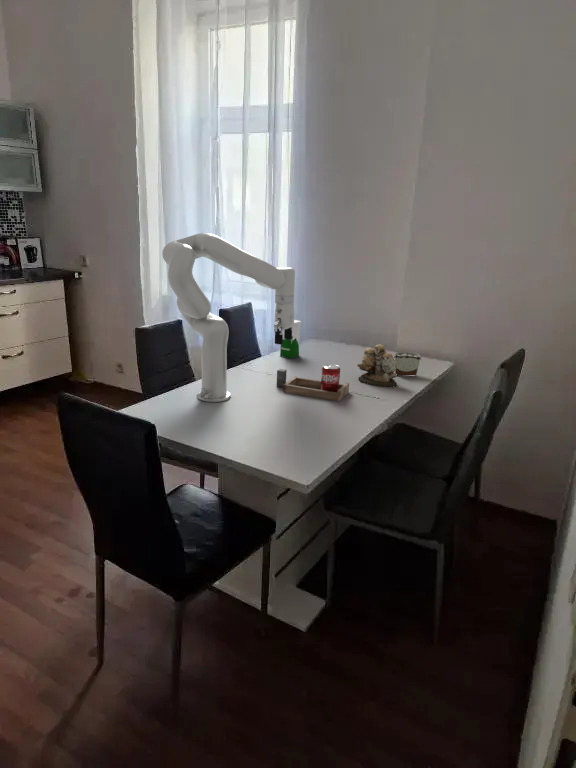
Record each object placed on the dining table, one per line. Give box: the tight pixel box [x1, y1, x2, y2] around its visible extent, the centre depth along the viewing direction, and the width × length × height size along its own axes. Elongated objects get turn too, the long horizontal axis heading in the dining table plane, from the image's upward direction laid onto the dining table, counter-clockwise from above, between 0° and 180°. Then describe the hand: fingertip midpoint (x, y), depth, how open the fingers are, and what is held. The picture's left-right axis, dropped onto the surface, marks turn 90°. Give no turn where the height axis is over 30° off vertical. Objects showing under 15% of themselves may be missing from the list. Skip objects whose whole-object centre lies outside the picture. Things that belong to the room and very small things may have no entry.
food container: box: [393, 351, 422, 376], centre depth 242 cm, size 12×6×10 cm, turn 84°
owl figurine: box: [356, 343, 398, 388], centre depth 227 cm, size 18×12×17 cm, turn 65°
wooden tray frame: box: [276, 368, 350, 402], centre depth 213 cm, size 12×29×7 cm, turn 68°
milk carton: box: [279, 319, 302, 359], centre depth 264 cm, size 9×9×20 cm
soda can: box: [320, 363, 341, 393], centre depth 210 cm, size 7×7×12 cm
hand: (283, 341), depth 213 cm, fingers open, 9 cm apart
